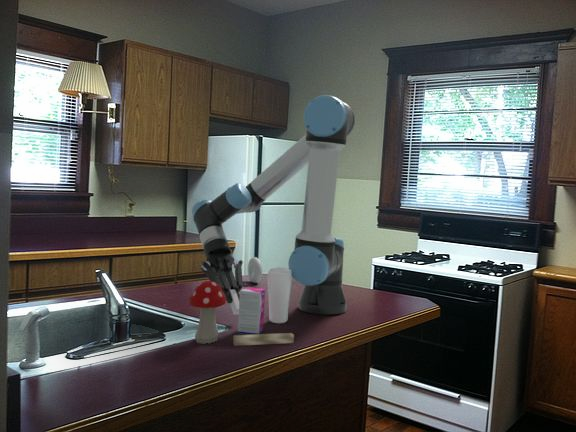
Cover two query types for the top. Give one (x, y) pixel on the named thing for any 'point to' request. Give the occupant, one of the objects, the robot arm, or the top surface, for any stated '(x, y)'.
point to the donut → (255, 270)
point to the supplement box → (251, 311)
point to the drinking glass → (279, 293)
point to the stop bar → (263, 339)
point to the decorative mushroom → (207, 310)
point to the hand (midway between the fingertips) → (237, 311)
